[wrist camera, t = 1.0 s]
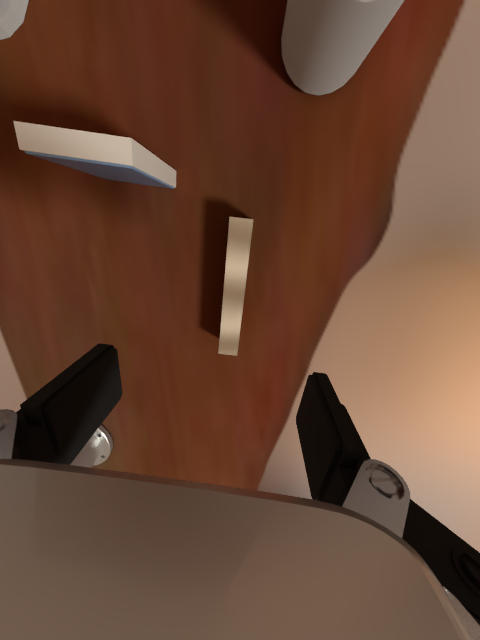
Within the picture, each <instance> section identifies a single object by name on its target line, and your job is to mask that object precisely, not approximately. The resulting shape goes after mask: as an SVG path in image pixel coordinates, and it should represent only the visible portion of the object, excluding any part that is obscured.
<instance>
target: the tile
mask: <svg viewBox="0 0 480 640" xmlns="http://www.w3.org/2000/svg"><path fill="white" fill-rule="evenodd" d="M13 122H14V126H15V131H16V136H17V141H18V146H19V150H22V151H25V153H26V154H29V155H32V156H35V157H38V158H41V159H44V160H48V161H51V162H54V163H57V164H60V165H63V166H66V167H69V168H72V169H75V170H79V171H82V172H85V173H88V174H91V175H94V176H97V177H100V178H103V179H108V180H115V181H122V182H129V183H136V184H143V185H150V186H157V187H164V188H171V189H174V188H176V171H175V170H174V169H173V168H171V167H170V166H169V165H167V164H166V163H165V162H163V161H162V160H160V159H159V158H158V157H156V156H155V155H154V154H152V153H151V152H150V151H148V150H147V149H146V148H144V147H143V146H142V145H140V144H139V143H137V142H136V141H135V140H133V139H132V138H128V137H121V136H114V135H107V134H100V133H94V132H87V131H80V130H73V129H66V128H59V127H52V126H45V125H38V124H31V123H24V122H17V121H13Z"/></svg>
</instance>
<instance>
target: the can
mask: <svg viewBox="0 0 480 640" xmlns="http://www.w3.org/2000/svg"><path fill="white" fill-rule="evenodd" d="M403 2H404V0H288V1H287V7H286V13H285V19H284V25H283V31H282V37H281V43H282V58H283V61H284V65H285V68H286V71H287V74H288V75H289V77H290V78H291V80H292V81H293V83H294V84H295V85H296V86H297V87H298V88H300V89H301V90H303V91H304V92H305V93H309V94H314V95H323V94H328V93H332V92H333V91H335V90H337V89H338V88H340V87H342V86H343V85H344V84H345V83H346V82H347V81H348V80H349V79H350V78H351V77H352V76H353V75H354V73H355V72H356V71H357V69H358V68H359V66H360V65H361V63H362V62H363V60H364V59H365V57H366V56H367V54H368V53H369V52H370V50H371V49H372V47H373V46H374V44H375V43H376V41H377V40H378V38H379V37H380V35H381V34H382V32H383V31H384V29H385V28H386V27H387V25H388V24H389V22H390V21H391V19H392V18H393V16H394V15H395V13H396V12H397V10H398V9H399V7H400V6H401V4H402V3H403Z"/></svg>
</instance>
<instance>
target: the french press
mask: <svg viewBox="0 0 480 640" xmlns="http://www.w3.org/2000/svg"><path fill="white" fill-rule="evenodd" d="M28 1H29V0H0V40H1V39H5V38H9V37H11V35H12V34H13V33H14V32H15V31H16V30H17V29H18V27H19V26H20V25H21V24H22V23H23V21H24V17H25V13H26V9H27V5H28Z"/></svg>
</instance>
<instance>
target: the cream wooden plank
mask: <svg viewBox="0 0 480 640" xmlns="http://www.w3.org/2000/svg"><path fill="white" fill-rule="evenodd" d="M252 227H253V219H246V218H237V217H230V218H229V230H228V242H227V255H226V267H225V279H224V292H223V304H222V316H221V328H220V341H219V354H228V355H236V356H237V352H238V344H239V335H240V327H241V319H242V310H243V302H244V294H245V285H246V277H247V268H248V260H249V252H250V243H251V235H252Z"/></svg>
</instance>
